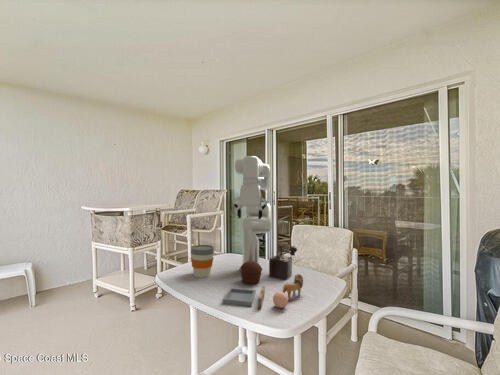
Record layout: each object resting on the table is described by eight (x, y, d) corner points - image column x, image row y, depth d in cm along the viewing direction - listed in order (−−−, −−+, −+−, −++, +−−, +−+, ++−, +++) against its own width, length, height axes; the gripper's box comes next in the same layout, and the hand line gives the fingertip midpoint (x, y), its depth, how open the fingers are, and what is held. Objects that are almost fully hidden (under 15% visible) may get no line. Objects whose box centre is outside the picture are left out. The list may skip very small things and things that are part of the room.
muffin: (235, 282, 122) (235, 263, 122) (245, 276, 132) (246, 257, 132) (256, 287, 117) (256, 267, 117) (265, 280, 126) (266, 261, 127)
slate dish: (230, 291, 112) (230, 287, 112) (255, 293, 110) (255, 289, 110) (223, 303, 100) (223, 299, 100) (251, 306, 98) (251, 301, 98)
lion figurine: (295, 290, 115) (296, 271, 115) (305, 294, 111) (306, 274, 111) (277, 300, 104) (277, 279, 104) (287, 304, 100) (288, 283, 100)
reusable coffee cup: (211, 279, 126) (211, 250, 127) (187, 278, 127) (188, 249, 127) (215, 271, 139) (215, 245, 139) (193, 270, 139) (194, 244, 139)
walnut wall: (261, 294, 109) (262, 286, 109) (264, 295, 109) (264, 286, 109) (258, 308, 96) (258, 298, 96) (261, 309, 96) (261, 299, 96)
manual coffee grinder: (267, 276, 132) (268, 243, 132) (275, 270, 142) (275, 240, 142) (295, 282, 125) (296, 247, 125) (301, 275, 135) (301, 243, 135)
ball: (273, 302, 102) (273, 288, 102) (287, 304, 101) (288, 289, 101) (272, 309, 96) (272, 294, 96) (287, 311, 95) (287, 296, 95)
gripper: (269, 183, 117) (268, 218, 116) (234, 182, 120) (234, 217, 119) (267, 182, 109) (266, 219, 109) (230, 181, 113) (229, 218, 112)
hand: (249, 218), depth 114 cm, fingers open, 9 cm apart
